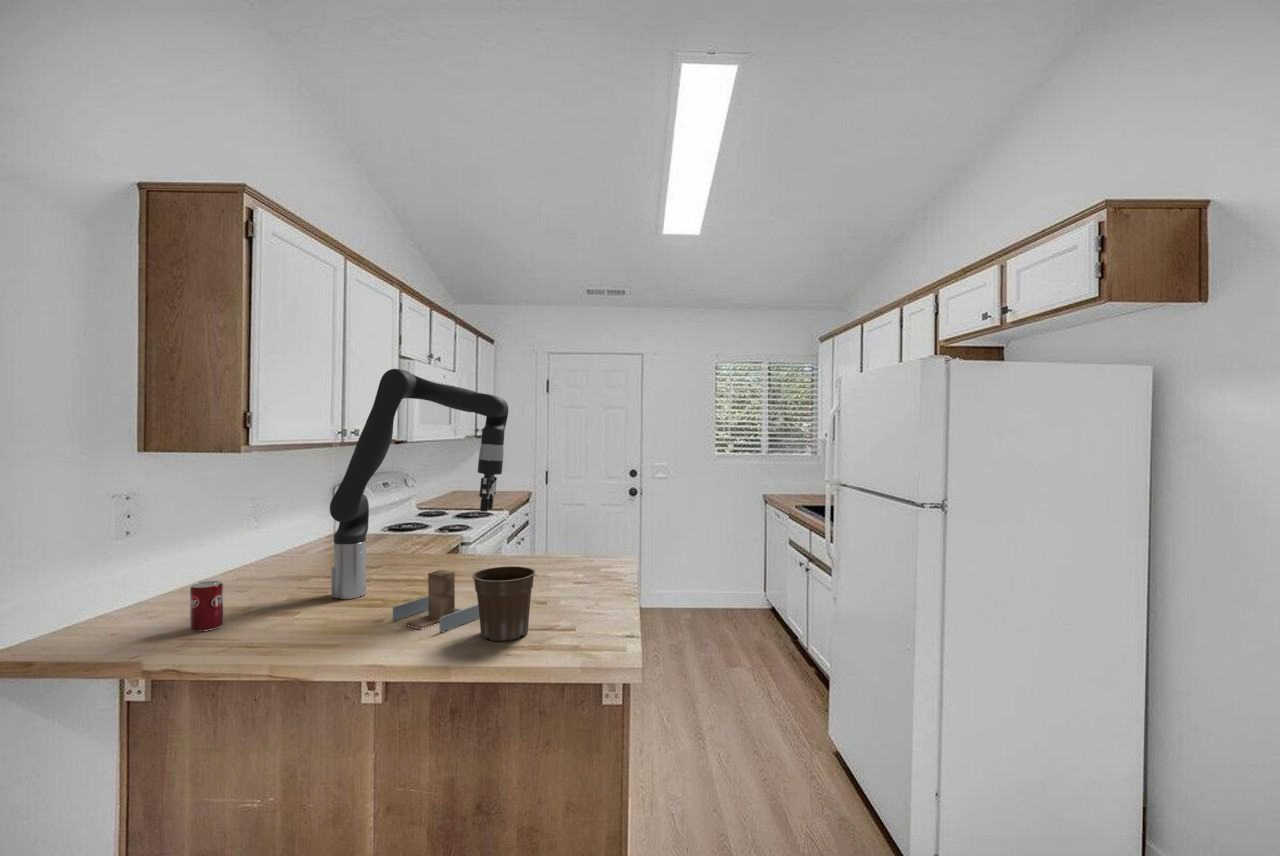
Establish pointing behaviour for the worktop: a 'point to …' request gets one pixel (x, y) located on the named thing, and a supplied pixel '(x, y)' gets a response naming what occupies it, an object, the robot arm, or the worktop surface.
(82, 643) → the worktop surface
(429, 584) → the walnut post stand
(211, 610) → the soda can
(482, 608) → the plant pot
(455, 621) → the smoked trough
